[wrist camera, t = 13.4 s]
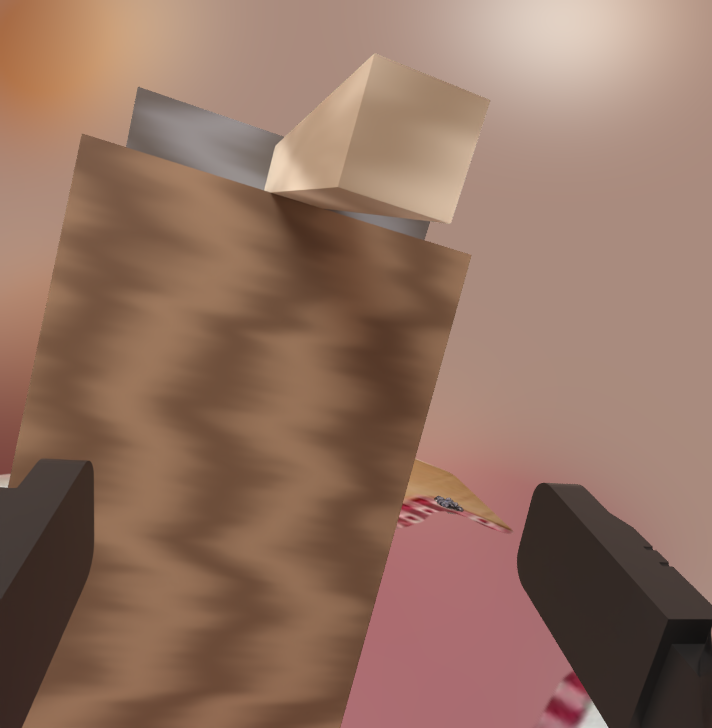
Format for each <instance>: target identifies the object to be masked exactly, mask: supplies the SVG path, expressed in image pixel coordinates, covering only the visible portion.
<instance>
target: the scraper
mask: <svg viewBox="0 0 712 728" xmlns="http://www.w3.org/2000/svg"><path fill="white" fill-rule="evenodd" d="M489 103H490V100H489V99H486V98H484V97H481V96H479V95H476V94H474V93H471V92H469V91H466V90H464V89H461V88H459V87H457V86H454V85H452V84H449V83H447V82H444V81H442V80H439V79H437V78H434V77H432V76H429V75H427V74H424V73H422V72H420V71H417V70H415V69H412V68H410V67H407V66H405V65H402V64H400V63H397V62H395V61H392V60H390V59H387V58H385V57H382V56H380V55H378V54H374V55H372V56H371V57H370V58H369V59H368V60H367V61H366V62H365V63H364V64H363V65H362V66H361V67H360V68H358V69H357V70H356V71H355V72H354V73H353V74H352V75H351V76H350V77H349V78H348V79H347V80H346V81H344V82H343V83H342V84H341V85H340V86H339V87H338V88H337V89H336V90H335V91H334V92H333V93H332V94H330V95H329V96H328V97H327V98H326V99H325V100H324V101H323V102H322V103H321V104H320V105H319V106H318V107H316V108H315V109H314V110H313V111H312V112H311V113H310V114H309V115H308V116H307V117H306V118H305V119H304V120H303V121H301V122H300V123H299V124H298V125H297V126H296V127H295V128H294V129H293V130H292V131H291V132H290V133H288V134H287V135H286V136H285V137H283V136H280V135H277V134H274V133H271V132H268V131H266V130H263V129H260V128H256V127H254V126H251V125H248V124H245V123H242V122H239V121H236V120H234V119H230V118H228V117H225V116H222V115H219V114H216V113H213V112H210V111H207V110H204V109H201V108H199V107H196V106H193V105H190V104H187V103H184V102H181V101H178V100H175V99H172V98H169V97H166V96H163V95H161V94H158V93H155V92H152V91H149V90H146V89H143V88H140V87H138V89H137V95H136V99H135V104H134V110H133V115H132V120H131V125H130V130H129V135H128V140H127V145H126V147H127V148H130V149H133V150H136V151H139V152H143V153H146V154H149V155H152V156H155V157H159V158H162V159H165V160H168V161H171V162H175V163H178V164H181V165H184V166H188V167H191V168H194V169H197V170H200V171H204V172H207V173H210V174H213V175H216V176H220V177H223V178H226V179H229V180H232V181H236V182H239V183H242V184H245V185H248V186H252V187H255V188H258V189H261V190H264V191H268V192H271V193H274V194H277V195H280V196H284V197H287V198H290V199H293V200H297V201H300V202H303V203H306V204H309V205H313V206H316V207H319V208H322V209H325V210H329V211H332V212H335V213H338V214H341V215H345V216H348V217H351V218H354V219H357V220H361V221H364V222H367V223H370V224H373V225H377V226H380V227H383V228H386V229H389V230H393V231H396V232H399V233H402V234H406V235H409V236H412V237H415V238H418V239H422V240H424V239H425V236H426V233H427V230H428V227H429V223H430V221H432V222H440V223H449V224H450V223H451V221H452V218H453V215H454V212H455V209H456V206H457V202H458V199H459V196H460V193H461V190H462V187H463V184H464V181H465V178H466V174H467V171H468V168H469V165H470V162H471V159H472V156H473V153H474V149H475V146H476V143H477V140H478V137H479V134H480V131H481V128H482V124H483V122H484V118H485V115H486V112H487V109H488V106H489Z"/></svg>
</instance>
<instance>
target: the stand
mask: <svg viewBox="0 0 712 728" xmlns="http://www.w3.org/2000/svg"><path fill="white" fill-rule="evenodd" d="M470 259H471V255H469V254H466V253H463V252H460V251H457V250H454V249H450V248H447V247H444V246H441V245H438V244H434V243H431V242H428V241H425V240H422V239H418V238H415V237H412V236H409V235H406V234H402V233H399V232H396V231H393V230H389V229H386V228H383V227H380V226H377V225H373V224H370V223H367V222H364V221H361V220H357V219H354V218H351V217H348V216H345V215H341V214H338V213H335V212H332V211H329V210H325V209H322V208H319V207H316V206H313V205H309V204H306V203H303V202H300V201H297V200H293V199H290V198H287V197H284V196H280V195H277V194H274V193H271V192H268V191H264V190H261V189H258V188H255V187H252V186H248V185H245V184H242V183H239V182H236V181H232V180H229V179H226V178H223V177H220V176H216V175H213V174H210V173H207V172H204V171H200V170H197V169H194V168H191V167H188V166H184V165H181V164H178V163H175V162H171V161H168V160H165V159H162V158H159V157H155V156H152V155H149V154H146V153H143V152H139V151H136V150H133V149H130V148H127V147H123V146H120V145H117V144H114V143H111V142H107V141H104V140H101V139H98V138H95V137H91V136H88V135H85V134H82V136H81V141H80V145H79V150H78V155H77V160H76V165H75V169H74V175H73V179H72V184H71V189H70V193H69V198H68V203H67V208H66V213H65V218H64V222H63V227H62V232H61V236H60V241H59V246H58V251H57V256H56V260H55V265H54V270H53V275H52V280H51V285H50V289H49V294H48V299H47V303H46V308H45V313H44V318H43V323H42V328H41V332H40V337H39V342H38V347H37V352H36V356H35V361H34V366H33V371H32V375H31V380H30V385H29V390H28V394H27V399H26V404H25V409H24V414H23V419H22V423H21V428H20V433H19V437H18V442H17V447H16V452H15V457H14V461H13V467H12V471H11V476H10V481H9V485H8V488H17V487H18V486H19V485H20V483H21V482H22V481H23V480H24V478H25V477H26V476H27V475H28V473H29V472H30V471H31V469H32V468H33V467H34V466H35V464H36V463H37V462H38V461H39V460H40V459H65V460H86V461H91V463H92V465H93V470H94V552H93V559H92V564H91V568H90V572H89V575H88V578H87V581H86V583H85V585H84V588H83V590H82V592H81V595H80V597H79V599H78V601H77V604H76V606H75V608H74V610H73V613H72V615H71V617H70V620H69V622H68V624H67V626H66V629H65V631H64V633H63V635H62V638H61V640H60V642H59V645H58V647H57V649H56V651H55V654H54V656H53V658H52V660H51V663H50V665H49V667H48V670H47V672H46V674H45V676H44V679H43V681H42V683H41V685H40V688H39V690H38V692H37V695H36V697H35V699H34V701H33V704H32V706H31V708H30V710H29V713H28V715H27V717H26V720H25V722H24V724H23V726H22V728H340V726H341V723H342V719H343V716H344V712H345V709H346V705H347V701H348V698H349V694H350V690H351V687H352V683H353V680H354V676H355V673H356V669H357V665H358V662H359V658H360V655H361V651H362V647H363V644H364V640H365V637H366V633H367V629H368V626H369V622H370V618H371V615H372V611H373V608H374V604H375V601H376V597H377V593H378V590H379V586H380V583H381V579H382V575H383V572H384V568H385V564H386V561H387V557H388V554H389V550H390V547H391V543H392V539H393V536H394V532H395V529H396V525H397V521H398V518H399V514H400V511H401V507H402V504H403V500H404V496H405V493H406V489H407V486H408V482H409V478H410V475H411V471H412V468H413V464H414V460H415V457H416V453H417V450H418V446H419V442H420V439H421V435H422V432H423V428H424V424H425V421H426V417H427V413H428V410H429V406H430V403H431V399H432V395H433V392H434V388H435V385H436V381H437V378H438V374H439V370H440V366H441V363H442V360H443V356H444V352H445V349H446V345H447V342H448V338H449V334H450V331H451V327H452V324H453V320H454V316H455V313H456V309H457V306H458V302H459V298H460V294H461V291H462V288H463V284H464V280H465V277H466V273H467V270H468V266H469V262H470Z"/></svg>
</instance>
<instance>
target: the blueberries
mask: <svg viewBox="0 0 712 728" xmlns="http://www.w3.org/2000/svg"><path fill="white" fill-rule="evenodd" d="M434 499H435V501H436V502H437V503H438V504H439V505H441V506H443V507H446V508H449V509H454V510H456V511H461V512H462V511H463V508H462V507H460V506H461V505H460V506H458V503H457V502H455V503H454V502H453V500H451V498H446V499H444V498H443V497H440V496H437V497H436V498H434ZM447 513H450V514H455V513H451V512H447Z"/></svg>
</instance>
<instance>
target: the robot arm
mask: <svg viewBox="0 0 712 728" xmlns="http://www.w3.org/2000/svg"><path fill="white" fill-rule="evenodd" d="M93 552H94V470H93V465H92V463H91V461H86V460H65V459H40V460H39V461H38V462H37V463H36V464H35V466H34V467H33V468H32V469H31V471H30V472H29V473H28V475H27V476H26V477H25V478H24V480H23V481H22V482H21V483H20V485H19V486H18V487H17V488H2V487H0V728H22V726H23V724H24V722H25V720H26V717H27V715H28V713H29V710H30V708H31V706H32V704H33V701H34V699H35V697H36V695H37V692H38V690H39V688H40V685H41V683H42V681H43V679H44V676H45V674H46V672H47V670H48V667H49V665H50V663H51V660H52V658H53V656H54V654H55V651H56V649H57V647H58V645H59V642H60V640H61V638H62V635H63V633H64V631H65V629H66V626H67V624H68V622H69V620H70V617H71V615H72V613H73V610H74V608H75V606H76V604H77V601H78V599H79V597H80V595H81V592H82V590H83V588H84V585H85V583H86V581H87V578H88V575H89V572H90V568H91V564H92V559H93ZM517 568H518V574H519V578H520V581H521V584H522V586H523V588H524V590H525V591H526V592H527V594H528V596H529V598H530V599H531V601H532V603H533V604H534V606H535V608H536V609H537V611H538V612H539V614H540V616H541V617H542V619H543V621H544V622H545V624H546V626H547V627H548V629H549V630H550V632H551V634H552V635H553V637H554V639H555V640H556V642H557V644H558V645H559V647H560V649H561V650H562V652H563V653H564V655H565V657H566V658H567V660H568V662H569V663H570V665H571V667H572V668H573V670H574V672H575V673H576V675H577V676H578V678H579V680H580V681H581V683H582V685H583V686H584V688H585V690H586V691H587V693H588V695H589V696H590V698H591V699H592V701H593V703H594V704H595V706H596V708H597V709H598V711H599V713H600V714H601V716H602V718H603V719H604V721H605V722H606V724H607V726H608V727H609V728H712V605H711V604H710V603H709V602H708V601H707V600H706V599H705V598H704V597H703V596H702V595H701V594H700V593H699V592H698V591H697V590H696V589H695V588H694V587H693V586H692V585H691V584H690V583H689V582H688V581H687V580H686V579H685V578H684V577H683V576H682V575H681V574H680V573H679V572H678V571H677V570H676V569H675V568H674V567H669V565H668V561H667V560H666V559H665V558H664V557H662V555H661V554H660V553H658V552H657V551H655V550H653V549H652V546H651V545H650V544H649V543H648V542H647V541H646V540H645V539H644V538H643V537H642V536H641V535H640V534H639V533H638V532H637V531H636V530H635V529H634V528H633V527H631V526H630V525H628V524H626V523H625V522H623V521H622V520H620V519H619V518H617V517H615V516H613V515H612V514H610V513H609V512H608V511H607V510H606V509H605V508H604V507H603V506H602V505H601V504H600V503H599V502H598V501H597V500H596V499H595V498H594V497H593V496H592V495H591V494H590V493H589V492H588V491H587V490H586V489H585V488H584V487H583V486H581V485H578V484H556V483H541V484H539V485H538V486H537V487H536V489H535V491H534V493H533V496H532V500H531V503H530V507H529V511H528V515H527V519H526V523H525V527H524V530H523V534H522V538H521V542H520V546H519V550H518V556H517Z"/></svg>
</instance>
